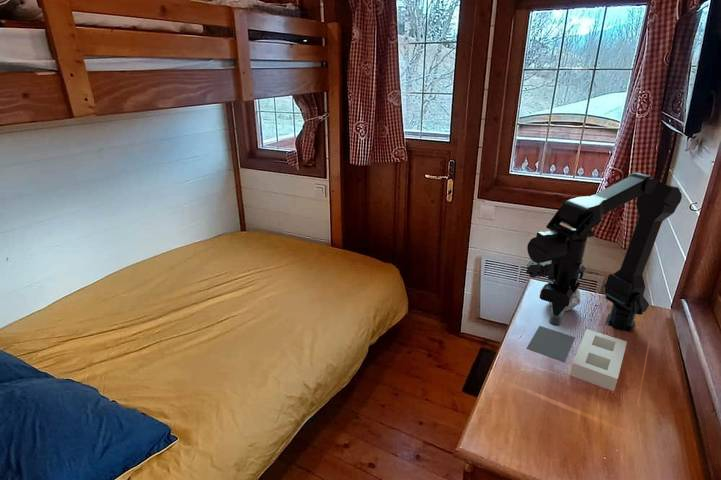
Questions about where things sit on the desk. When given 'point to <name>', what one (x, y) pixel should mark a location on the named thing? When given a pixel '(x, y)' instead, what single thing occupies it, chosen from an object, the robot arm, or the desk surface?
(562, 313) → the peg
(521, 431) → the desk surface
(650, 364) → the desk surface
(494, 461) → the desk surface
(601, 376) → the hole block
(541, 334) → the mat
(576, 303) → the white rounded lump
